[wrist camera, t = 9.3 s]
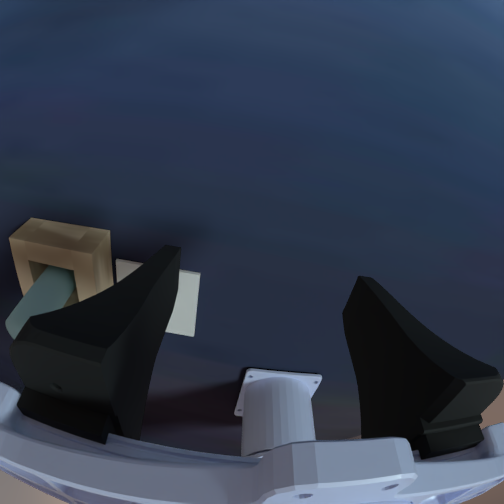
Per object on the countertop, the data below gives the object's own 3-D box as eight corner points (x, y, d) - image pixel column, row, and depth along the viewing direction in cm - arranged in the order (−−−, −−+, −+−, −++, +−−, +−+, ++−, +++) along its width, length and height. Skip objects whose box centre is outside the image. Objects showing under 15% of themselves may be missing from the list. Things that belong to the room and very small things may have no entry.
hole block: (123, 361, 31) (114, 386, 28) (60, 344, 31) (49, 367, 28) (109, 230, 23) (91, 254, 20) (31, 217, 23) (8, 237, 20)
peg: (90, 260, 25) (41, 334, 17) (81, 283, 26) (37, 355, 18) (62, 242, 24) (6, 310, 16) (55, 266, 25) (5, 333, 17)
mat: (194, 334, 29) (193, 336, 28) (122, 320, 28) (121, 322, 28) (200, 273, 25) (199, 275, 25) (116, 258, 24) (115, 260, 24)
